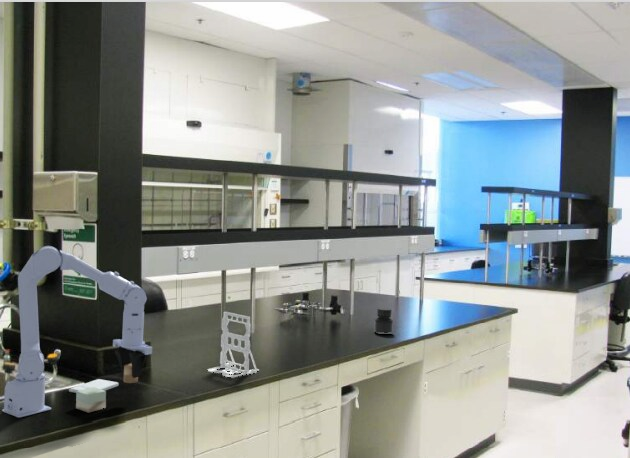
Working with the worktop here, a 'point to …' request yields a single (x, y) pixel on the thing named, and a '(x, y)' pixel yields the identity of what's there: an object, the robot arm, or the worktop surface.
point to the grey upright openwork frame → (234, 348)
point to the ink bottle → (383, 320)
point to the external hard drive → (95, 385)
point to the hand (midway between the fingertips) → (130, 375)
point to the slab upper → (91, 395)
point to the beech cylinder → (129, 374)
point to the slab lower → (90, 406)
